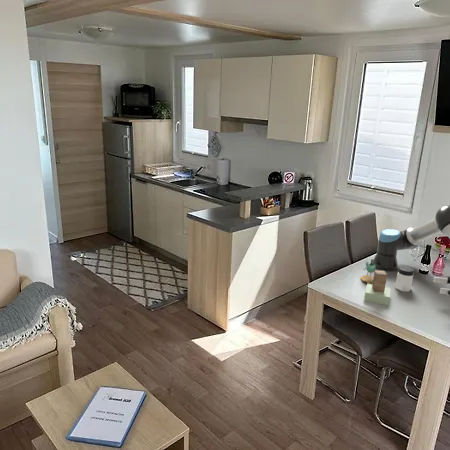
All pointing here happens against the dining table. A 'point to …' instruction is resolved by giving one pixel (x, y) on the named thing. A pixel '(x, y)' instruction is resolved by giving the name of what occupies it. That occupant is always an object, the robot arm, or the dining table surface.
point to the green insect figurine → (370, 269)
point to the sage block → (377, 295)
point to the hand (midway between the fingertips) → (436, 284)
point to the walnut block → (379, 281)
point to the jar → (404, 278)
